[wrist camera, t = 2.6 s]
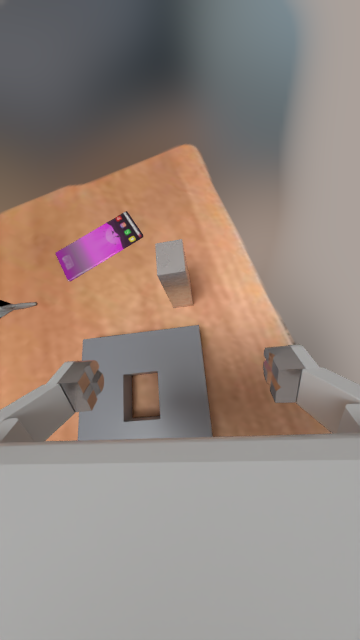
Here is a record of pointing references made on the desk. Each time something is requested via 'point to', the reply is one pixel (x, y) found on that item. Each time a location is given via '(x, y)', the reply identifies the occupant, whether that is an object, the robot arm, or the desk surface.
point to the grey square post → (174, 273)
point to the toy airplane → (13, 307)
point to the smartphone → (98, 246)
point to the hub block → (173, 380)
